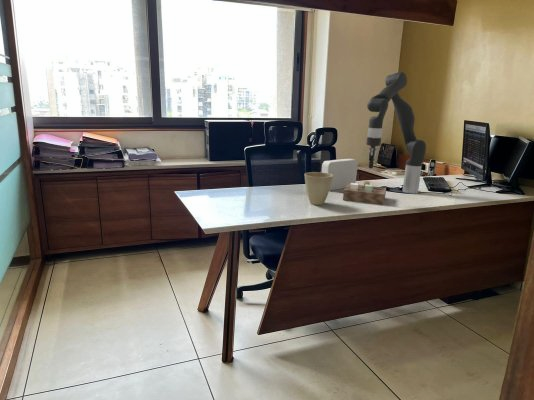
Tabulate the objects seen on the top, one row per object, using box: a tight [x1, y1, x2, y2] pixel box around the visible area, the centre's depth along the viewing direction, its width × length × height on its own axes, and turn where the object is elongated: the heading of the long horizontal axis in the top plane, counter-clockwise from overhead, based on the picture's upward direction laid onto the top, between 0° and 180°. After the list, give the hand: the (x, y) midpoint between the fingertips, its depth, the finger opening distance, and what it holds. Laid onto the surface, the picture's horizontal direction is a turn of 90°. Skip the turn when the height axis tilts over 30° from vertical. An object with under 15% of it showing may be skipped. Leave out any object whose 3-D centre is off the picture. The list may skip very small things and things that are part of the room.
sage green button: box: [364, 184, 374, 192], centre depth 212 cm, size 4×4×5 cm
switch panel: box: [342, 184, 387, 206], centre depth 217 cm, size 22×18×6 cm
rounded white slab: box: [321, 158, 358, 192], centre depth 243 cm, size 29×8×18 cm, turn 129°
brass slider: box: [363, 180, 371, 187], centre depth 220 cm, size 3×3×4 cm
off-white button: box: [350, 182, 359, 190], centre depth 214 cm, size 4×4×5 cm
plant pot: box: [304, 171, 333, 206], centre depth 202 cm, size 15×15×16 cm
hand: (370, 168), depth 209 cm, fingers closed
